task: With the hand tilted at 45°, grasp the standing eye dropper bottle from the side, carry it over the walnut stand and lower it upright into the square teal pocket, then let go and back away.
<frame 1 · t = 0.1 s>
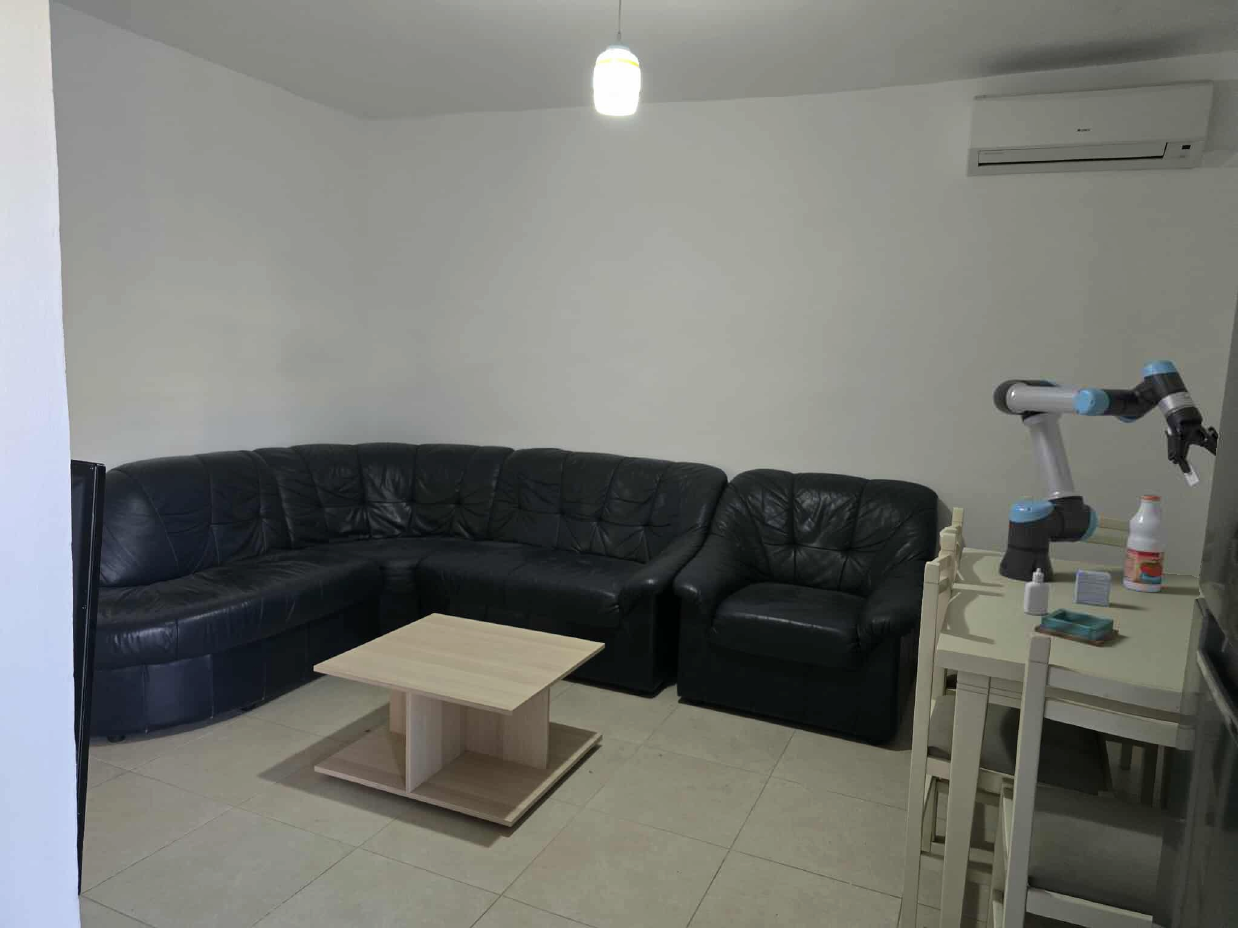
hand: (1217, 483, 202), 36 cm above the table, tool tilted 35°, fingers open, 13 cm apart
bottle stand: (1076, 632, 194), on the table
medicine box: (1090, 603, 220), on the table
fruit juice: (1141, 589, 237), on the table
eye dropper bottle: (1034, 613, 210), on the table
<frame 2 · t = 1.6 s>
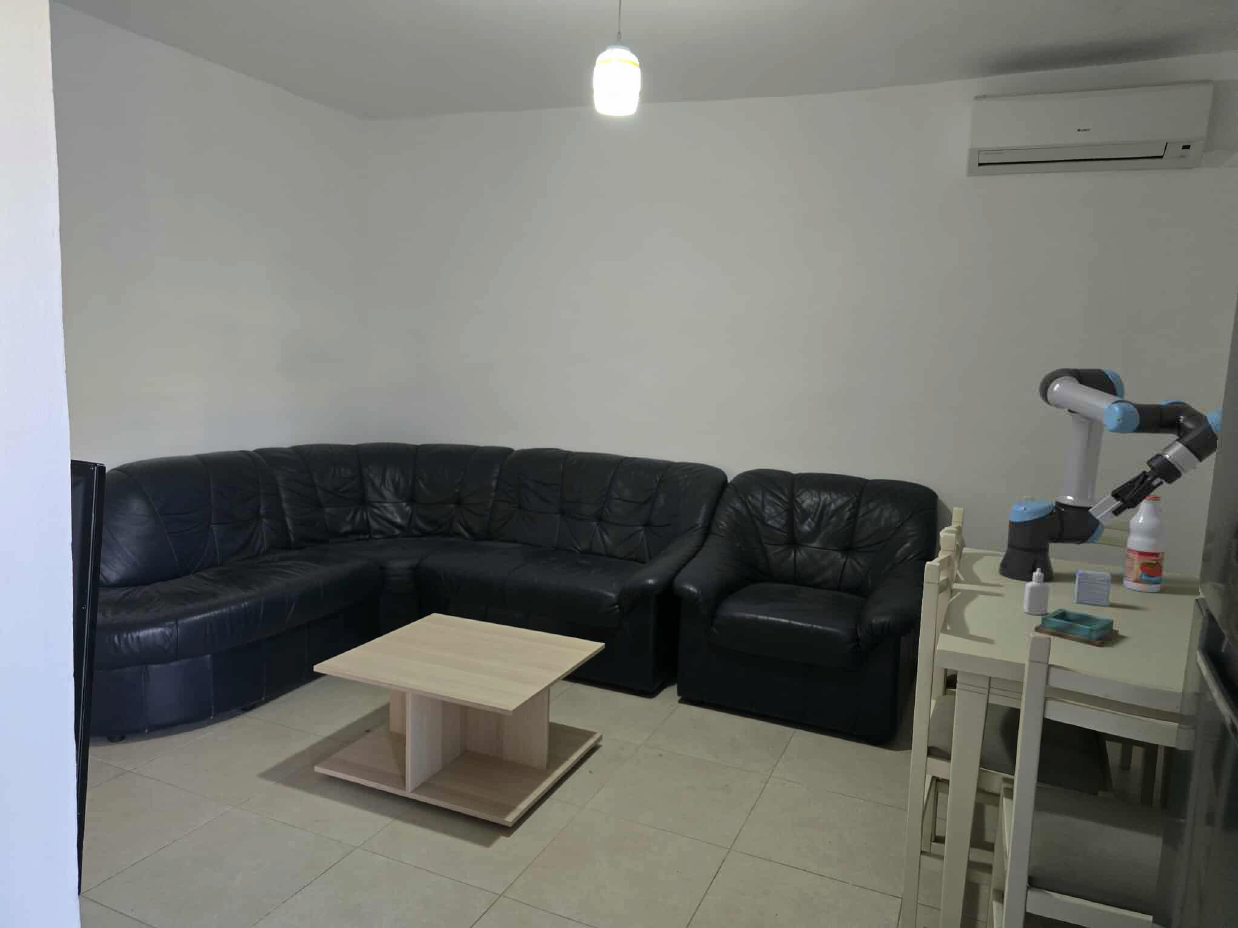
hand: (1096, 518, 204), 26 cm above the table, tool tilted 45°, fingers open, 13 cm apart
nothing on the table moved.
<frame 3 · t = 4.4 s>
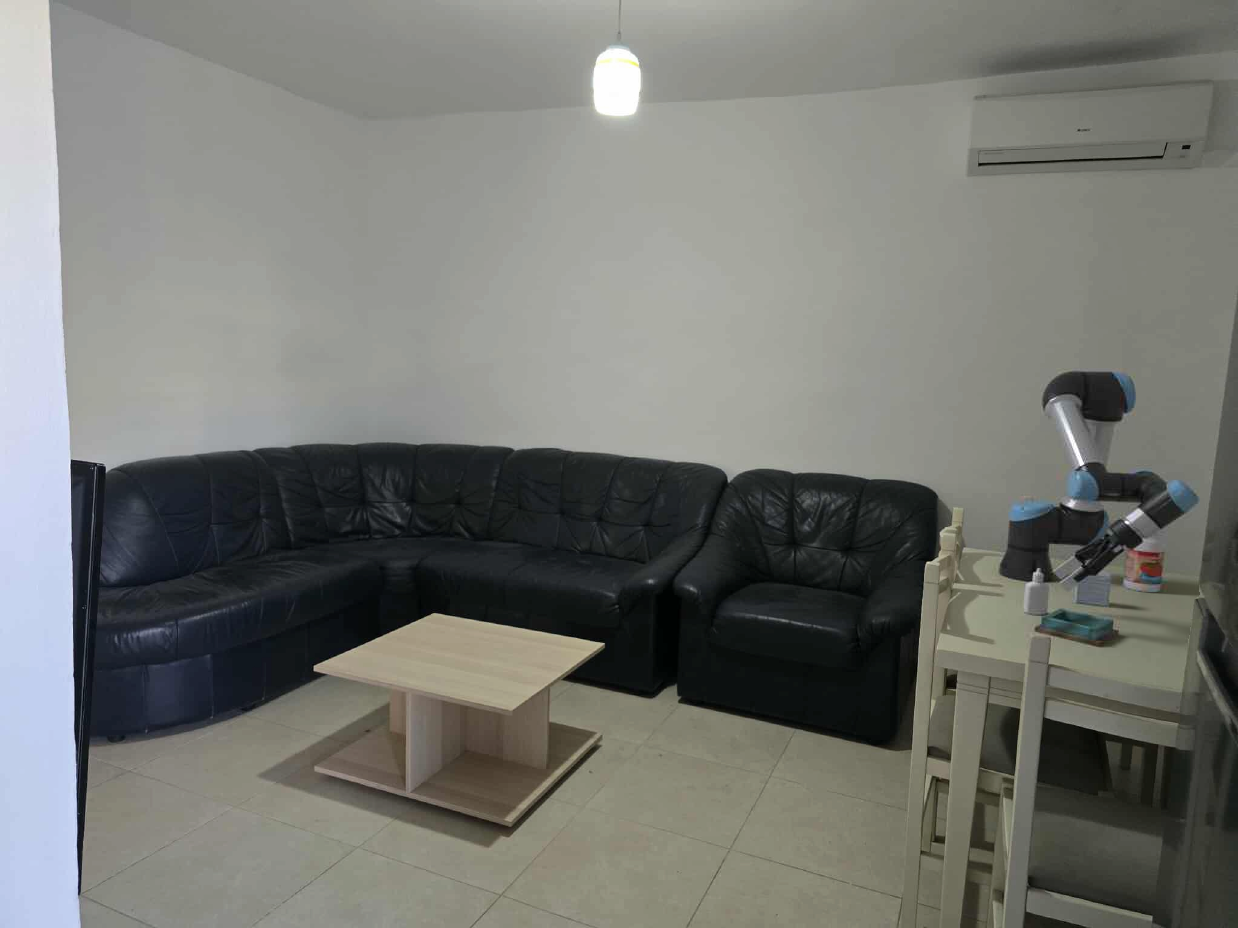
hand: (1059, 581, 205), 9 cm above the table, tool tilted 45°, fingers open, 13 cm apart
nothing on the table moved.
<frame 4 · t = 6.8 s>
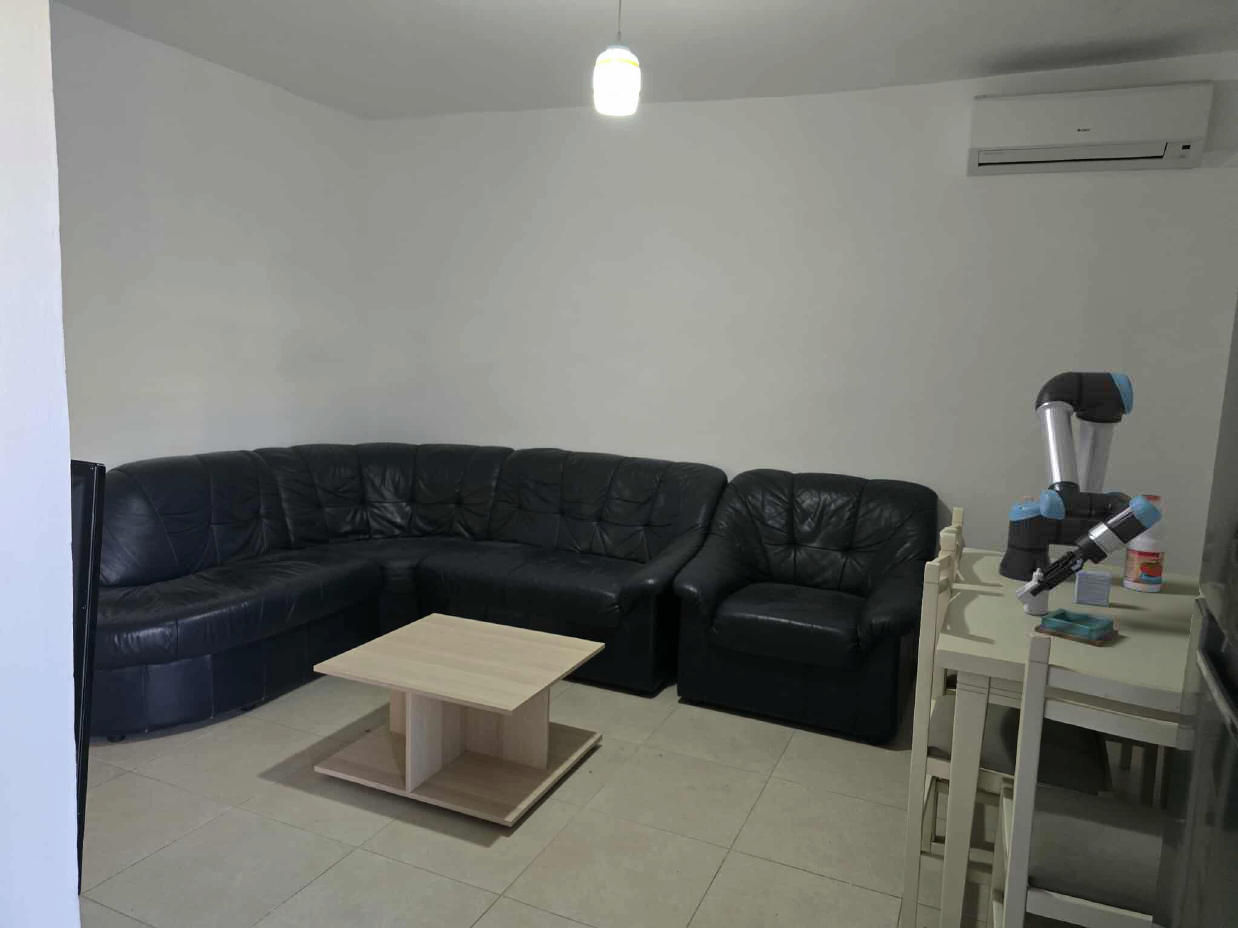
hand: (1020, 598, 211), 3 cm above the table, tool tilted 45°, fingers closed on eye dropper bottle, 4 cm apart
eye dropper bottle: (1034, 613, 210), on the table, touching gripper
everything else where it was.
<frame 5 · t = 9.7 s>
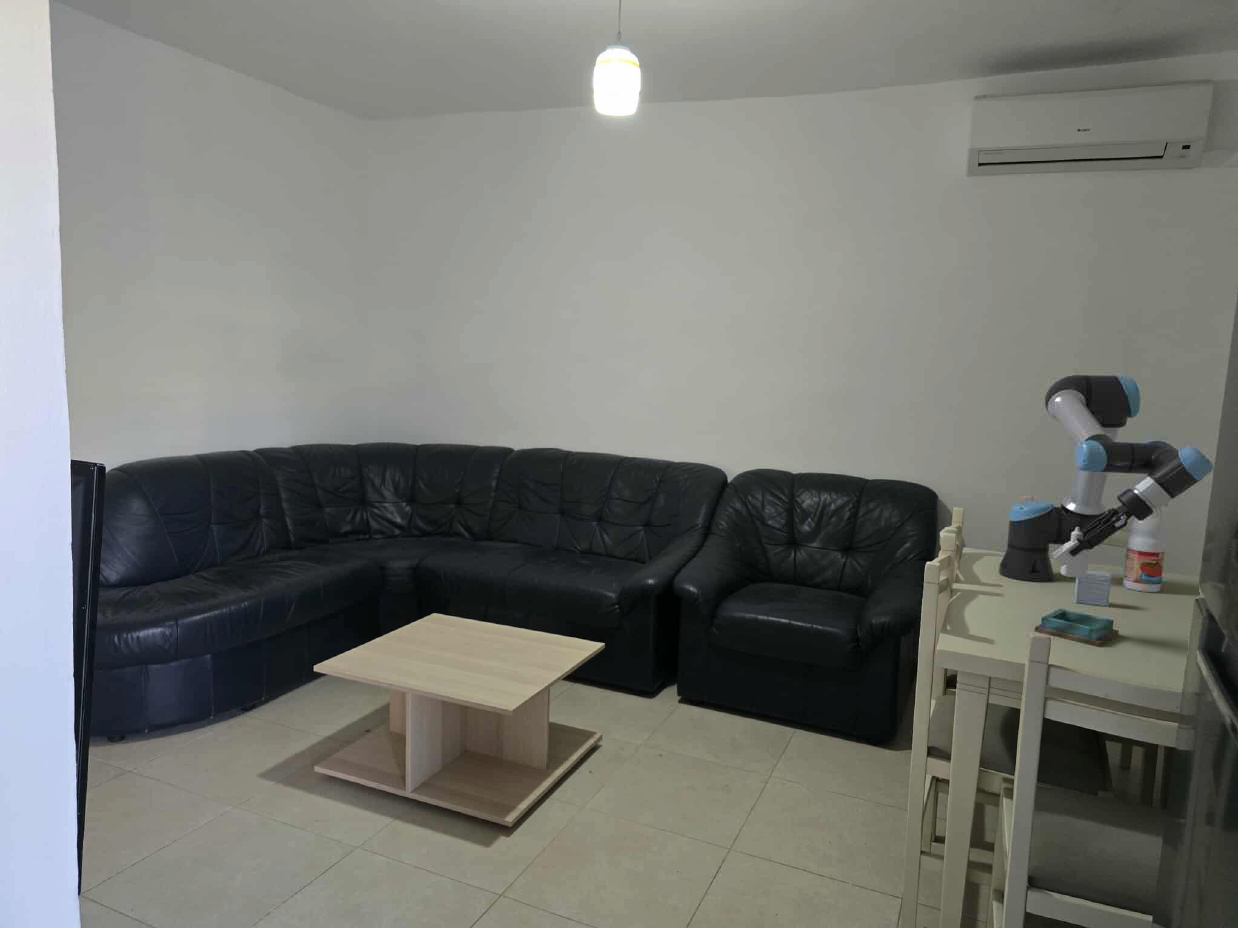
hand: (1057, 560, 196), 17 cm above the table, tool tilted 45°, fingers closed on eye dropper bottle, 4 cm apart
eye dropper bottle: (1073, 576, 195), point 13 cm above the table, touching gripper
everything else where it was.
when the fingers open (6 cm above the table, at t = 12.7 s): eye dropper bottle drops 1 cm, resting on bottle stand.
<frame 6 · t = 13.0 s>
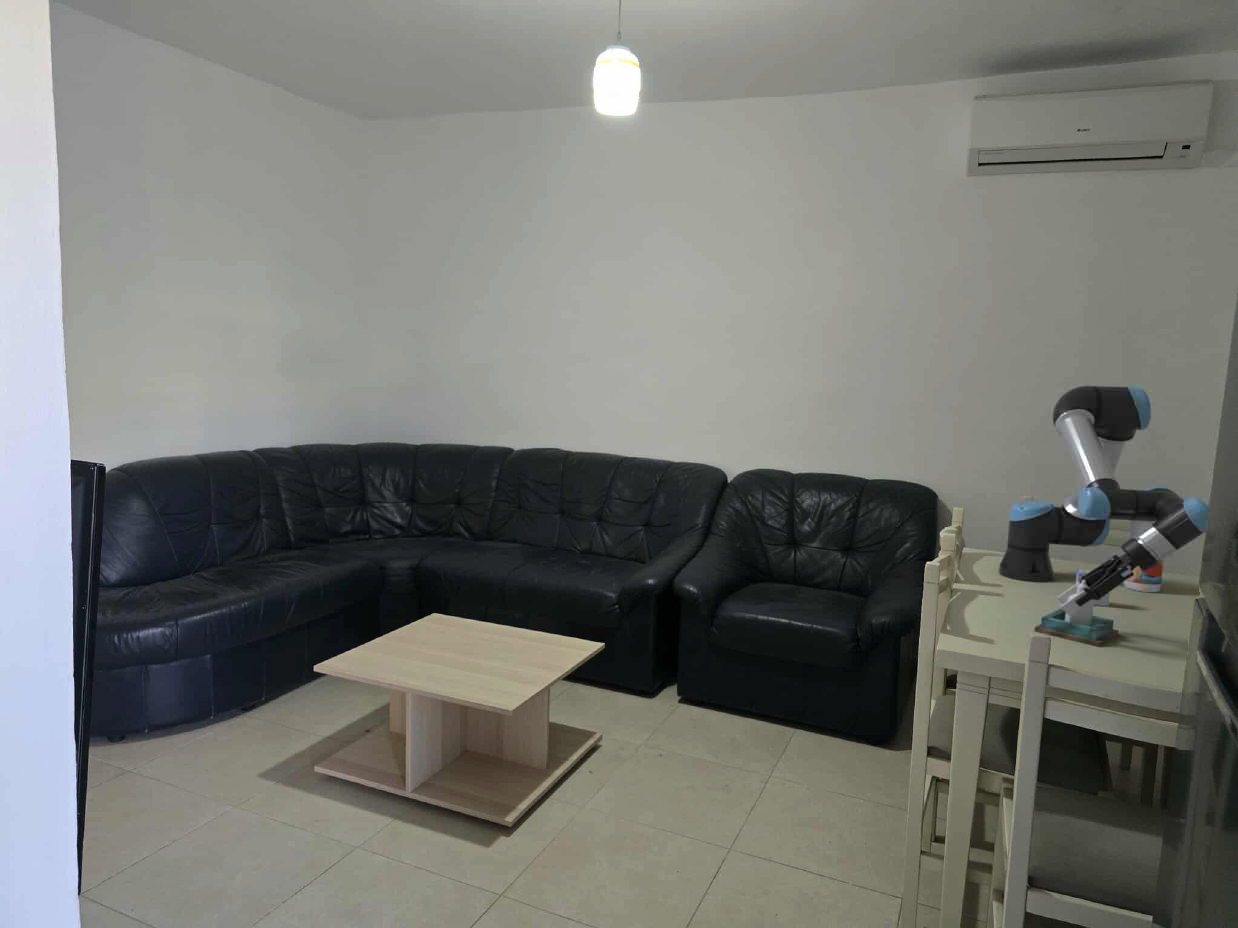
hand: (1062, 606, 195), 6 cm above the table, tool tilted 45°, fingers open, 8 cm apart
eye dropper bottle: (1076, 628, 194), point 1 cm above the table, touching bottle stand
everything else where it was.
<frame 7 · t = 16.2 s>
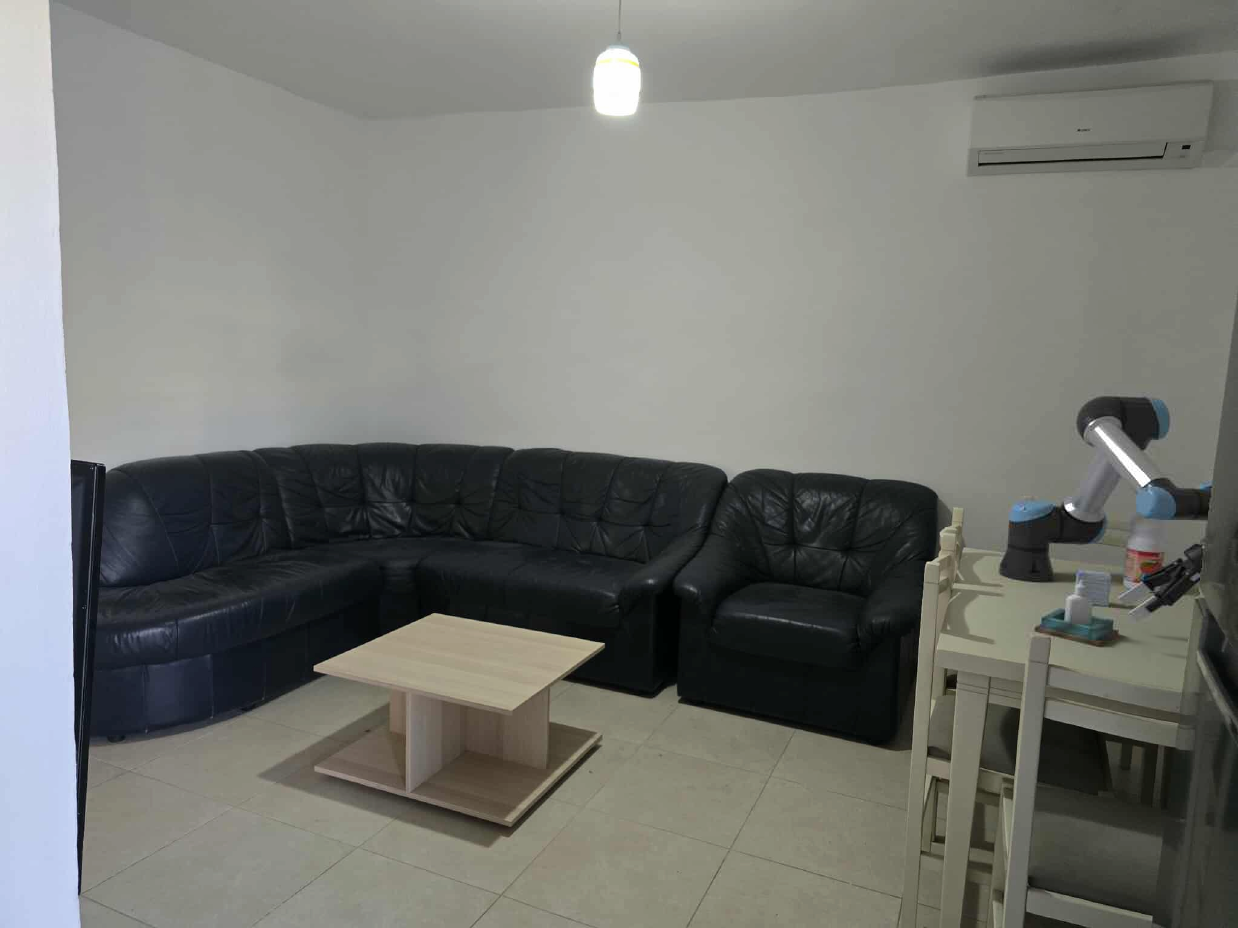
hand: (1127, 609, 189), 7 cm above the table, tool tilted 45°, fingers open, 13 cm apart
nothing on the table moved.
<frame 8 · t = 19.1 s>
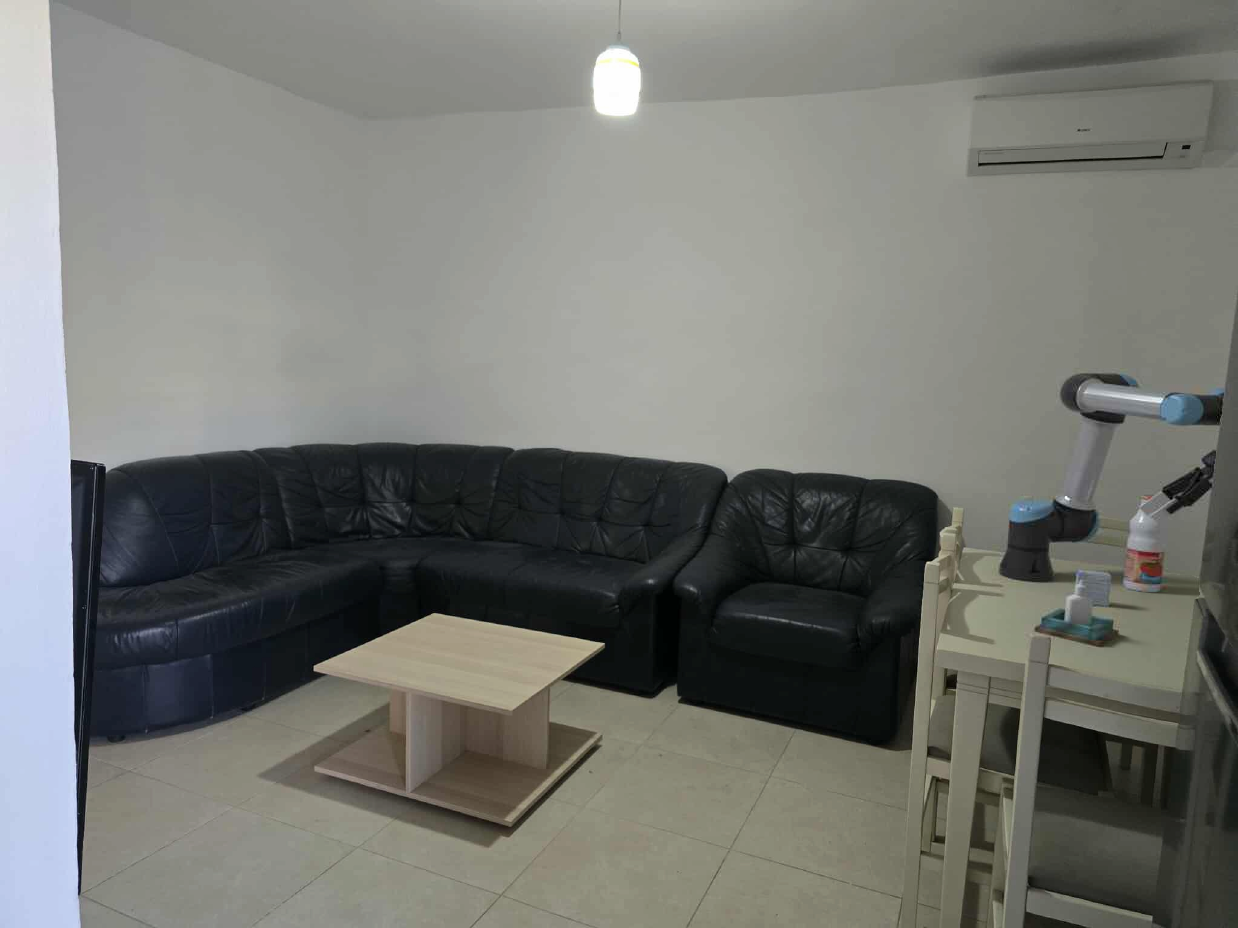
hand: (1148, 515, 200), 28 cm above the table, tool tilted 45°, fingers open, 13 cm apart
nothing on the table moved.
at the end: eye dropper bottle 0.2 cm off-centre on the bottle stand, point 0.8 cm above the bottle stand's base; eye dropper bottle tilted 0°; the gripper is holding nothing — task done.
